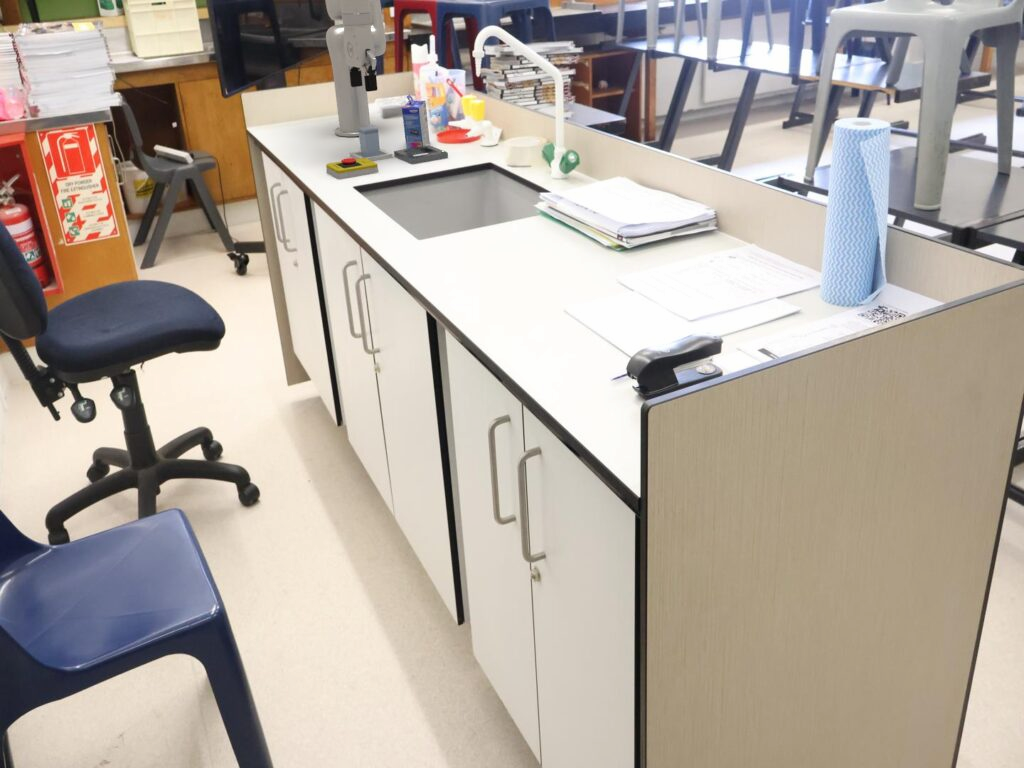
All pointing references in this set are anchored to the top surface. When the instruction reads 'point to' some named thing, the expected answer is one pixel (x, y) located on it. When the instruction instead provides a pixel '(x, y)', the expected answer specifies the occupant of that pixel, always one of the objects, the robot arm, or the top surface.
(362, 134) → the plug
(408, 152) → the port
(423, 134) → the ink cartridge box
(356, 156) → the grey square tray
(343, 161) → the emergency button
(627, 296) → the top surface
